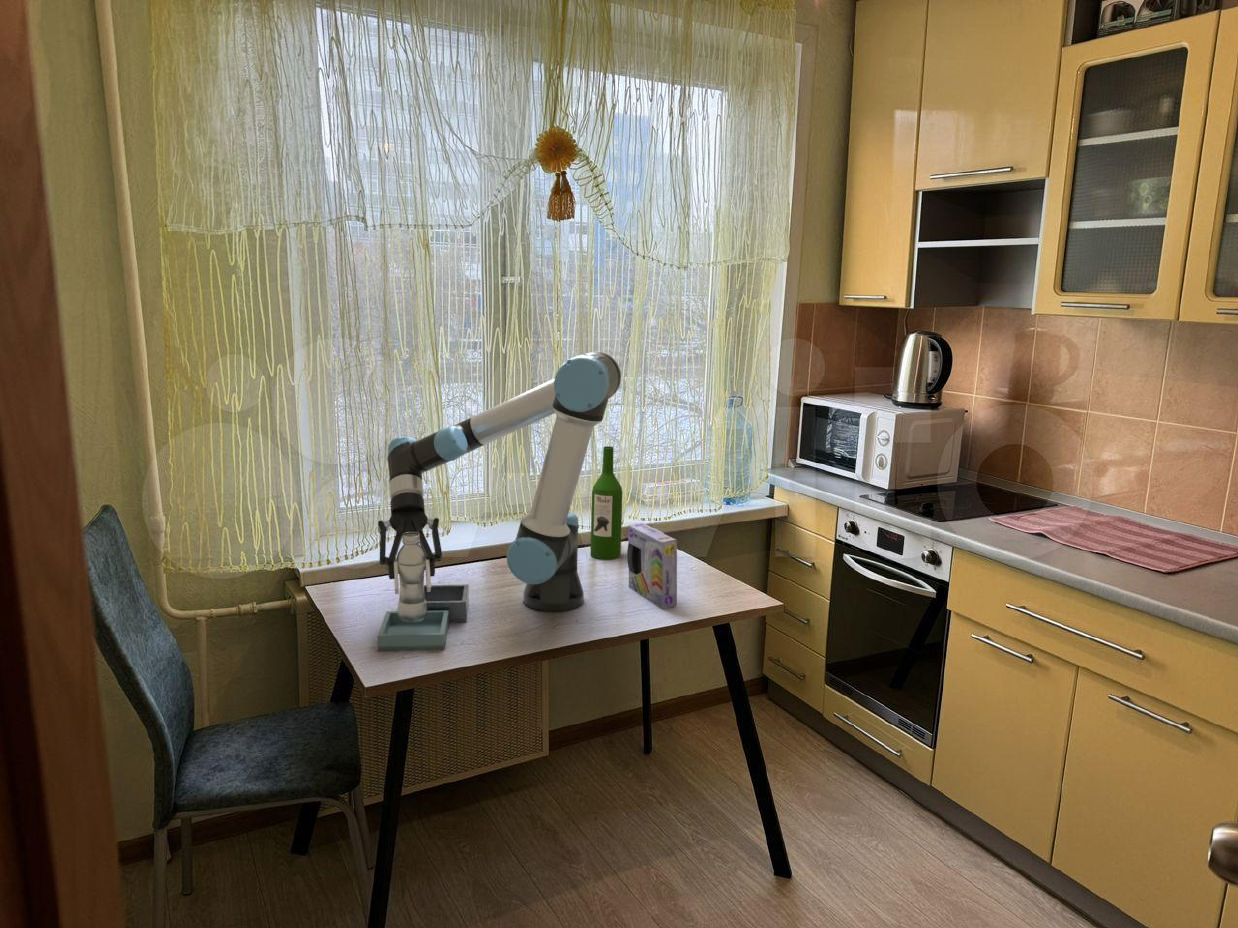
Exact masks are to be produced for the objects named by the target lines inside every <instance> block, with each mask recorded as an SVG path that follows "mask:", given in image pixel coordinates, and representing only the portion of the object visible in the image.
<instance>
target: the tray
mask: <svg viewBox="0 0 1238 928" xmlns="http://www.w3.org/2000/svg"><path fill="white" fill-rule="evenodd" d="M449 626H450V623H449V610H434V611H427V614H426V616H425V618H424V619H423V620H422V621H419V622H414V623H408V622H404V621H402V620H401V619H400V618H399V616H398V611H397V610H395V611H394V610H391V611H390V610H386V612H385V614H384V617H383V620H382V622H381V625H380V628H379V630H378V634H377V651H378V652H393V651H395V652H398V651H399V650H405V651H434V650H435V651H437V650H436V649H444V650H445V647H446V643H447V642H446V641H447V636H448V630H449Z"/></svg>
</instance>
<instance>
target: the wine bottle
mask: <svg viewBox="0 0 1238 928" xmlns="http://www.w3.org/2000/svg"><path fill="white" fill-rule="evenodd" d="M590 508H591V514H590V515H591V516H590V517H591V518H590V556H591V558H593V559H596V560H600V561H601V560H602V561H612V560H617V559H619V558H620V557H621V554H622V549H621V548H622V524H623V523H622V518H623V517H622V516H623V488H622V486H621V485H620V482H619V480H618V479H617V477H616V476H615V473H614V447H613V446H611V445H610V446H603V449H602V470H601V474H600V475H599V477H598V478H597V480H596V481H595V483H594V485H593V487H592V490H591V507H590Z"/></svg>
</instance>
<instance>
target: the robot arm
mask: <svg viewBox="0 0 1238 928" xmlns="http://www.w3.org/2000/svg"><path fill="white" fill-rule="evenodd" d="M621 382H622V371H621V369H620V366H619V364H618V362H617V361H616V360H615V358H613V357H612V356H611V355H610V354H607V353H605V352H601V351H589V352H585V353H584V354H583V353H581V354H577V355H574V356H571V357H570V358H568V359H567V360H565V361H564V362H563V364H561V365H560V366H559V368H558V370H557V371H556V373H555V376H554V378H553V379H550V380H548V381H546V382H544V383H543V384H540V385H538V386H535V387H533V388H532V389H529V390H527V391H525V392H523V393H521V394H518V395H517V396H514V397H512V398H510V399H508V400H506V401H504V402H501V403H500V404H497V405H495V406H493V407H490V408H489V409H486V410H484V411H482V412H480V413H478V414H475V415H474V416H471V417H469V418H467V419H465V420H463V421H460V422H458V423H456V424H453V425H452V426H451V425H449V426H448V427H444V428H442V429H439V430H438V431H436V432H433V433H431V434H429V435H427V436H425V437H423V438H420V439H419V440H417V439H416V438H414V437H411V436H403V437H396V438H393V439H392V440H391V441H390V442H389V444H388V447H387V457H386V459H387V465H388V475H389V498H390V504H389V505H390V517H389V518H388V520H385V521H384V520H379V521H378V522H377V525H378V526H377V529H378V532H379V536H380V537H379V539H380V541H379V564H380V565H385V566H387V570H388V571H387V572H388V579H389V580H394V581H393V583H394V594H395V595H399V593H400V581H399V571H398V564H397V561H396V560H397V554H398V552H399V550H400V547H401V546H400V545H401V542H402V540H403V534H404V533H406V532H417V533H419V535H420V543H419V545H420V546H421V547H422V549H423V550H424V552H425V554H426V564H425V583H426V584H425V585H427V592H431V585H432V580H431V577H435V575H436V567H435V565H436V564H435V563H436V562H441V561H442V557H443V552H442V551H443V550H442V545H441V539H440V534H439V524H440V523H439V522H440V518H438V517H435V518H433V519H432V518H428V516H427V515H426V511H425V509H426V508H425V500H424V485H423V474H424V473H426V472H429V471H430V470H431V471H432V469H436V468H438V467H440V466H442V465H445V464H448V463H450V462H455V460H458V459H460V458H461V457H462V456H465V455H467V454H468V453H471V452H473V451H475V450H477V449H479V448H481V447H483V446H485V445H487V444H490V443H492V442H494V441H497V440H498V439H501V438H503V437H505V436H507V435H509V434H512V433H514V432H518V431H519V430H521V429H523V428H526V427H528V426H530V425H532V424H535V423H536V422H539V421H541V420H543V419H545V418H547V417H550V416H552V415H554V414H555V416H556V417H555V420H554V424H553V428H552V431H551V436H550V439H549V443H548V447H547V448H546V449H547V450H546V453H545V457H544V460H543V465H542V468H541V472H540V474H539V480H538V482H537V485H536V489H535V493H534V497H533V500H532V503H531V508H530V512H528V513H527V514H525V515H523V516H522V517H521V519H520V523H519V527H518V531H517V533H516V537H515V540H513V542H511V543H510V545H509V548H508V549H507V552H506V563H507V567H508V569H509V570H510V572H511V574H512V575H513V576H514V577H515V578H516V579H517V580H519V581H521V582H522V583H525V587H524V590H523V595H522V597H523V598H522V599H523V603H524V605H526V606H527V607H529V608H530V609H534V610H538V611H544V612H564V611H570V610H573V609H576V608H578V607H580V606H582V604H584V602H585V601H584V597H585V596H584V595H585V593H584V589H583V586H582V585H583V584H582V583H581V579H580V576H579V573H578V558H579V557H578V551H579V550H578V549H579V548H578V547H579V527H580V525H579V518H578V516H577V514H575V513H574V512H570V509H571V506H572V502H573V500H574V495H575V491H576V489H577V484H578V483H579V480H580V479H579V478H580V474H581V471H582V467H583V464H584V461H585V458H586V454H587V450H588V447H589V444H590V440H591V437H592V433H593V430H594V427H595V426H596V425H599V424H600V423H602V422H603V419H604V417H605V413H606V409H607V406H608V403H609V399H610V398H612V397H613V396H615V394H616V393H617V391H618V390H619V388H620V385H621ZM427 525H428V528H429V529H430V530H431V537H432V543H433V550H434V554H433V551H432V549H431V547H430V545H429V542H428V540H427V538H426V536H425V534H424V528H425V527H426V526H427ZM389 527H391V528H392V529H393V530H394V531H395V532H396V533H395V537H394V540H393V542H392V546H391V549H390V552H389V555H388V556H386V553H387V552H386V549H387V548H386V547H387V532H388V531H389Z"/></svg>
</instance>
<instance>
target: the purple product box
mask: <svg viewBox="0 0 1238 928" xmlns="http://www.w3.org/2000/svg"><path fill="white" fill-rule="evenodd" d="M627 527H628V528H627V530H628V538H627V539H628V540H627V542H628V545H627V551H626V557H627V559H626V560H627V567H628V588H629V589H630V590H632V591H634V592H636V593H637V594H639V595H640V596H641V597H643V596H644V597H643V598H645V599H647V600H648V601H650V602H651V603H653V604H655V605H656V606H658V607H660V609H668V608H675V607H674V606H677V604H678V600H677V599H678V540H677V539H676V538H674V537H671V536H670V535H667V534H665V533H664V532H663V531H661V530H659V529H658V528H655V527H652V526H649V525H648V524H646V523H644V522H637V523H633V524H628V526H627Z"/></svg>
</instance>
